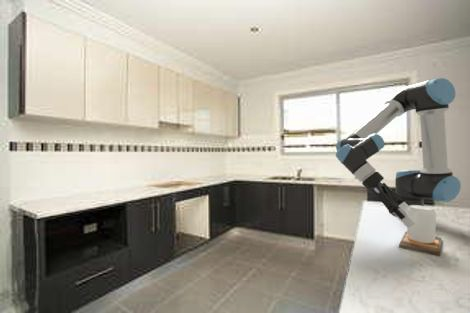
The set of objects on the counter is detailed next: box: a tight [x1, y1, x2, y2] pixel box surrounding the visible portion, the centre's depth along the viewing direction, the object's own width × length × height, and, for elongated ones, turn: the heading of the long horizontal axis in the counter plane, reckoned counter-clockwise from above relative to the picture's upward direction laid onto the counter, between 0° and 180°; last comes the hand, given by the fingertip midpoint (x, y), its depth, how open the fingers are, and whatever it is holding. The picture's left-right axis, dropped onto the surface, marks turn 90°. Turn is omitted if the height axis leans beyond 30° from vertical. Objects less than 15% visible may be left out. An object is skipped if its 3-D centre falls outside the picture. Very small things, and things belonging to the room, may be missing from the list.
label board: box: [398, 230, 442, 257], centre depth 90 cm, size 18×11×1 cm, turn 139°
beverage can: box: [406, 205, 437, 244], centre depth 90 cm, size 8×8×12 cm
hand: (413, 221), depth 91 cm, fingers open, 13 cm apart
